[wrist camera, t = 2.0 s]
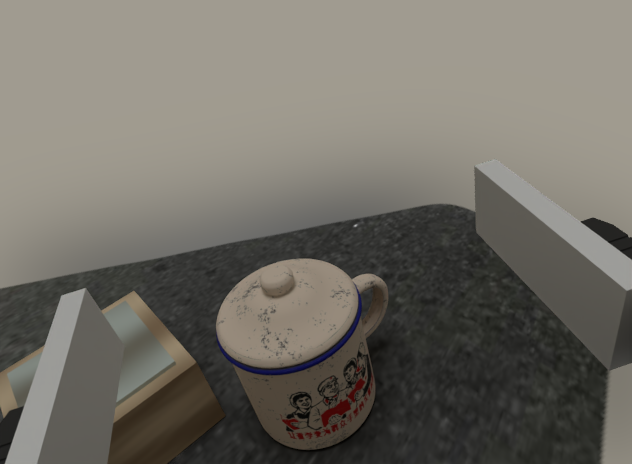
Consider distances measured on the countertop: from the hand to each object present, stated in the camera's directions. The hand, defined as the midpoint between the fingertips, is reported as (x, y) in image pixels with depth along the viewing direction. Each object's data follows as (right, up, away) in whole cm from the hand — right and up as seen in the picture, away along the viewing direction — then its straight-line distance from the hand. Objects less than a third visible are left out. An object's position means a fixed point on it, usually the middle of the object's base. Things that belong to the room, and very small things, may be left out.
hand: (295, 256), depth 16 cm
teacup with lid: (+2, -10, +19) cm, 22 cm away
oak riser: (-13, -13, +20) cm, 27 cm away
